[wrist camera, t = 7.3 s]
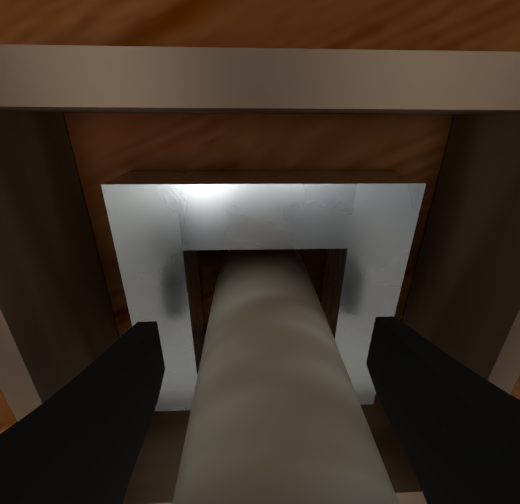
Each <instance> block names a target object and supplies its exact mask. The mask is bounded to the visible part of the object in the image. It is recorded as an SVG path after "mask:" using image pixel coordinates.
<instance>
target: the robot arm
mask: <svg viewBox="0 0 520 504" xmlns="http://www.w3.org/2000/svg"><path fill="white" fill-rule="evenodd" d="M366 365H367V368H368V371H369V374H370V377H371V380H372V383H373V385H374V388H375V391H376V394H377V396H378V398H379V400H380V402H381V404H382V406H383V409H384V411H385V413H386V415H387V417H388V419H389V421H390V423H391V425H392V427H393V429H394V431H395V433H396V435H397V437H398V439H399V442H400V444H401V446H402V448H403V450H404V452H405V454H406V456H407V458H408V460H409V462H410V464H411V466H412V468H413V471H414V473H415V475H416V477H417V480H418V482H419V484H420V487H421V489H422V492H423V494H424V497H425V499H426V502H427V504H520V400H519V399H517V398H515V397H513V396H512V395H510V394H508V393H507V392H505V391H503V390H502V389H500V388H499V387H497V386H495V385H494V384H492V383H491V382H489V381H488V380H486V379H485V378H483V377H481V376H480V375H478V374H477V373H475V372H474V371H472V370H471V369H469V368H468V367H466V366H465V365H463V364H462V363H460V362H459V361H457V360H456V359H454V358H453V357H451V356H450V355H448V354H447V353H446V352H444V351H443V350H441V349H440V348H438V347H437V346H436V345H434V344H433V343H431V342H430V341H429V340H427V339H426V338H424V337H423V336H422V335H420V334H419V333H417V332H416V331H415V330H413V329H412V328H410V327H409V326H407V325H406V324H405V323H403V322H402V321H400V320H399V319H397V318H395V317H394V316H390V317H376V318H375V322H374V327H373V332H372V337H371V342H370V346H369V351H368V356H367V361H366ZM164 372H165V364H164V359H163V353H162V347H161V342H160V336H159V330H158V325H157V321H147V322H137V323H136V324H135V325H134V326H132V327H131V328H130V329H129V330H128V331H127V332H126V333H125V334H124V335H122V336H121V337H120V338H119V339H118V340H117V341H116V342H115V343H114V344H113V345H111V346H110V347H109V348H108V349H107V350H106V351H105V352H104V353H103V354H101V355H100V356H99V357H98V358H97V359H96V360H95V361H93V362H92V363H91V364H90V365H89V366H88V367H87V368H86V369H84V370H83V371H82V372H81V373H79V374H78V375H77V376H76V377H75V378H73V379H72V380H71V381H70V382H68V383H67V384H66V385H65V386H64V387H62V388H61V389H60V390H59V391H58V392H56V393H55V394H54V395H53V396H51V397H50V398H49V399H48V400H46V401H45V402H44V403H42V404H41V405H40V406H38V407H37V408H36V409H34V410H33V411H32V412H30V413H29V414H28V415H26V416H25V417H24V418H22V419H21V420H19V421H18V422H17V423H15V424H14V425H12V426H11V427H10V428H8V429H7V430H5V431H4V432H3V433H1V434H0V504H123V500H124V497H125V494H126V491H127V487H128V484H129V481H130V478H131V475H132V472H133V470H134V467H135V464H136V461H137V458H138V455H139V453H140V450H141V447H142V444H143V441H144V439H145V436H146V433H147V430H148V427H149V425H150V422H151V419H152V416H153V413H154V410H155V407H156V405H157V402H158V398H159V394H160V390H161V386H162V381H163V377H164Z"/></svg>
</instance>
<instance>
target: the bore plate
mask: <svg viewBox="0 0 520 504" xmlns="http://www.w3.org/2000/svg"><path fill="white" fill-rule="evenodd" d="M101 187H102V192H103V196H104V201H105V205H106V210H107V214H108V219H109V223H110V228H111V232H112V237H113V242H114V246H115V251H116V255H117V260H118V264H119V269H120V273H121V278H122V282H123V287H124V291H125V296H126V300H127V305H128V309H129V314H130V318H131V323H132V326H134V325H135V324H136V323H137V322H147V321H157V325H158V330H159V336H160V342H161V347H162V353H163V359H164V364H165V372H164V377H163V381H162V386H161V390H160V394H159V398H158V402H157V405H156V407H155V410H154V411H180V410H191V406H192V401H193V396H194V391H195V386H196V381H197V376H198V371H199V366H200V361H201V356H202V351H203V345H204V340H205V335H206V333H205V329H204V318H203V307H202V297H201V286H200V275H199V265H198V254H197V250H260V249H326V257H325V267H324V276H323V285H322V294H321V303H320V304H321V306H322V309H323V311H324V314H325V316H326V319H327V321H328V324H329V327H330V329H331V332H332V334H333V337H334V339H335V342H336V344H337V347H338V349H339V352H340V354H341V357H342V360H343V362H344V365H345V367H346V370H347V372H348V375H349V377H350V380H351V382H352V385H353V387H354V390H355V392H356V395H357V398H358V400H359V403H360V405H368V404H373V403H374V399H375V395H376V391H375V388H374V385H373V383H372V380H371V377H370V374H369V371H368V368H367V365H366V361H367V356H368V351H369V346H370V342H371V337H372V332H373V327H374V322H375V318H376V317H390V316H395V311H396V307H397V303H398V299H399V295H400V291H401V286H402V282H403V278H404V274H405V270H406V266H407V261H408V257H409V253H410V249H411V245H412V241H413V236H414V232H415V228H416V224H417V220H418V216H419V211H420V207H421V203H422V199H423V195H424V191H425V187H426V183H424V182H421V181H418V180H415V179H412V178H410V177H407V176H404V175H401V174H398V173H396V172H393V171H130V172H128V173H126V174H123V175H121V176H119V177H117V178H114V179H112V180H110V181H108V182H105V183H103V184H101Z"/></svg>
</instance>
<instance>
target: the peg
mask: <svg viewBox="0 0 520 504" xmlns="http://www.w3.org/2000/svg"><path fill="white" fill-rule="evenodd" d="M172 504H399V501H398V499H397V496H396V494H395V491H394V489H393V486H392V484H391V481H390V479H389V476H388V474H387V471H386V468H385V466H384V463H383V461H382V458H381V456H380V453H379V451H378V448H377V446H376V443H375V441H374V438H373V436H372V433H371V430H370V428H369V425H368V423H367V420H366V418H365V415H364V413H363V410H362V408H361V405H360V403H359V400H358V398H357V395H356V392H355V390H354V387H353V385H352V382H351V380H350V377H349V375H348V372H347V370H346V367H345V365H344V362H343V360H342V357H341V354H340V352H339V349H338V347H337V344H336V342H335V339H334V337H333V334H332V332H331V329H330V327H329V324H328V321H327V319H326V316H325V314H324V311H323V309H322V306H321V304H320V301H319V299H318V296H317V294H316V291H315V289H314V286H313V283H312V281H311V278H310V276H309V273H308V271H307V268H306V266H305V263H304V261H303V259H302V257H301V255H300V254H299V252H298V251H297V250H296V249H260V250H228V252H227V253H226V254H225V255H224V257H223V259H222V260H221V263H220V266H219V269H218V274H217V279H216V284H215V290H214V295H213V300H212V305H211V310H210V315H209V320H208V325H207V330H206V335H205V340H204V345H203V351H202V356H201V361H200V366H199V371H198V376H197V381H196V386H195V391H194V396H193V401H192V406H191V411H190V417H189V422H188V427H187V432H186V437H185V442H184V447H183V452H182V457H181V462H180V467H179V472H178V478H177V483H176V488H175V493H174V498H173V503H172Z"/></svg>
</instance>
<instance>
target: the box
mask: <svg viewBox="0 0 520 504" xmlns="http://www.w3.org/2000/svg"><path fill="white" fill-rule="evenodd" d="M63 112H114V113H284V114H454V119H453V123H452V127H451V131H450V135H449V139H448V143H447V147H446V150H445V154H444V158H443V162H442V166H441V170H440V174H439V178H438V182H437V186H436V190H435V193H434V197H433V201H432V205H431V209H430V213H429V217H428V221H427V225H426V229H425V233H424V236H423V240H422V244H421V248H420V252H419V256H418V260H417V264H416V268H415V272H414V276H413V280H412V283H411V287H410V291H409V295H408V299H407V303H406V307H405V311H404V315H403V319H402V322H403V323H405V324H406V325H407V326H409V327H410V328H412V329H413V330H415V331H416V332H417V333H419V334H420V335H422V336H423V337H424V338H426V339H427V340H429V341H430V342H431V343H433V344H434V345H436V346H437V347H438V348H440V349H441V350H443V351H444V352H446V353H447V354H448V355H450V356H451V357H453V358H454V359H456V360H457V361H459V362H460V363H462V364H463V365H465V366H466V367H468V368H469V369H471V370H472V371H474V372H475V373H477V374H478V375H480V376H481V377H483V378H485V379H486V380H488V381H489V382H491V383H492V384H494V385H495V386H497V387H499V388H500V389H502V390H503V391H505V392H507V393H508V394H511V392H512V390H513V388H514V386H515V384H516V382H517V380H518V378H519V376H520V52H500V51H430V50H360V49H290V48H220V47H150V46H80V45H10V44H0V388H1V390H2V392H3V394H4V396H5V398H6V400H7V402H8V404H9V406H10V408H11V410H12V412H13V414H14V416H15V418H16V420H17V422H18V421H19V420H21V419H22V418H24V417H25V416H26V415H28V414H29V413H30V412H32V411H33V410H34V409H36V408H37V407H38V406H40V405H41V404H42V403H44V402H45V401H46V400H48V399H49V398H50V397H51V396H53V395H54V394H55V393H56V392H58V391H59V390H60V389H61V388H62V387H64V386H65V385H66V384H67V383H68V382H70V381H71V380H72V379H73V378H75V377H76V376H77V375H78V374H79V373H81V372H82V371H83V370H84V369H86V368H87V367H88V366H89V365H90V364H91V363H92V362H93V361H95V360H96V359H97V358H98V357H99V356H100V355H101V354H103V353H104V352H105V351H106V350H107V349H108V348H109V347H110V346H111V345H113V344H114V343H115V342H116V341H117V340H118V339H119V336H118V332H117V328H116V324H115V320H114V316H113V312H112V308H111V304H110V300H109V296H108V292H107V288H106V284H105V280H104V276H103V272H102V268H101V264H100V260H99V256H98V252H97V248H96V244H95V240H94V236H93V232H92V228H91V224H90V220H89V216H88V212H87V208H86V204H85V200H84V196H83V192H82V188H81V184H80V180H79V176H78V172H77V168H76V164H75V160H74V156H73V152H72V148H71V144H70V140H69V136H68V132H67V128H66V124H65V120H64V116H63ZM361 408H362V410H363V413H364V415H365V418H366V420H367V423H368V425H369V428H370V430H371V433H372V436H373V438H374V441H375V443H376V446H377V448H378V451H379V453H380V456H381V458H382V461H383V463H384V466H385V468H386V471H387V474H388V476H389V479H390V481H391V484H392V486H393V489H394V491H395V494H396V496H397V499H398V501H399V504H427V502H426V499H425V497H424V494H423V492H422V489H421V487H420V484H419V482H418V480H417V477H416V475H415V473H414V471H413V468H412V466H411V464H410V462H409V460H408V458H407V456H406V454H405V452H404V450H403V448H402V446H401V444H400V442H399V439H398V437H397V435H396V433H395V431H394V429H393V427H392V425H391V423H390V421H389V419H388V417H387V415H386V413H385V411H384V409H383V406H382V404H381V402H380V400H379V398H378V396H377V394H376V395H375V399H374V403H373V404H368V405H361ZM190 411H191V410H180V411H154V413H153V416H152V419H151V422H150V425H149V427H148V430H147V433H146V436H145V439H144V441H143V444H142V447H141V450H140V453H139V455H138V458H137V461H136V464H135V467H134V470H133V472H132V475H131V478H130V481H129V484H128V487H127V491H126V494H125V497H124V500H123V504H172V503H173V498H174V493H175V488H176V483H177V478H178V472H179V467H180V462H181V457H182V452H183V447H184V442H185V437H186V432H187V427H188V422H189V417H190Z"/></svg>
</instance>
